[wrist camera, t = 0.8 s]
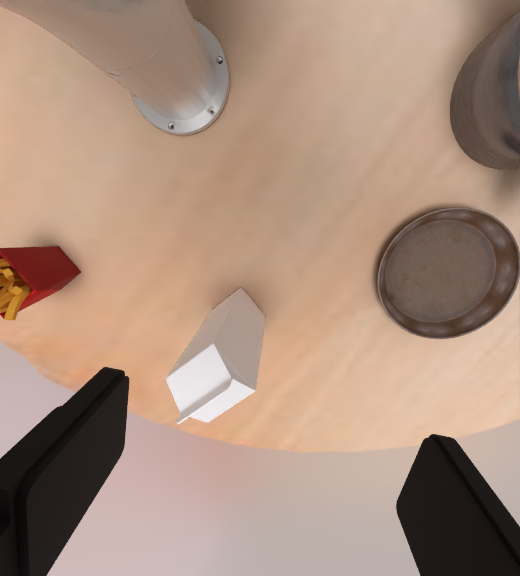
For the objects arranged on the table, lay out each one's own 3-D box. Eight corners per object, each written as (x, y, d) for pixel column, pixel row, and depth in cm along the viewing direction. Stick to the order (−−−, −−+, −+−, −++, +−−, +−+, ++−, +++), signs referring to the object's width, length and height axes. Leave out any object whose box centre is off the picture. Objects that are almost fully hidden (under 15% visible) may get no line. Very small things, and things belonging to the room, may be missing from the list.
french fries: (58, 237, 44) (-51, 252, 30) (96, 281, 45) (10, 316, 31) (20, 270, 46) (-99, 300, 31) (58, 312, 47) (-40, 358, 33)
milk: (266, 316, 45) (254, 415, 24) (236, 338, 46) (199, 451, 25) (240, 286, 44) (205, 361, 23) (210, 309, 45) (150, 401, 24)
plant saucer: (366, 329, 45) (372, 337, 42) (378, 207, 40) (386, 207, 37) (489, 332, 43) (504, 341, 41) (517, 207, 39) (536, 207, 36)
